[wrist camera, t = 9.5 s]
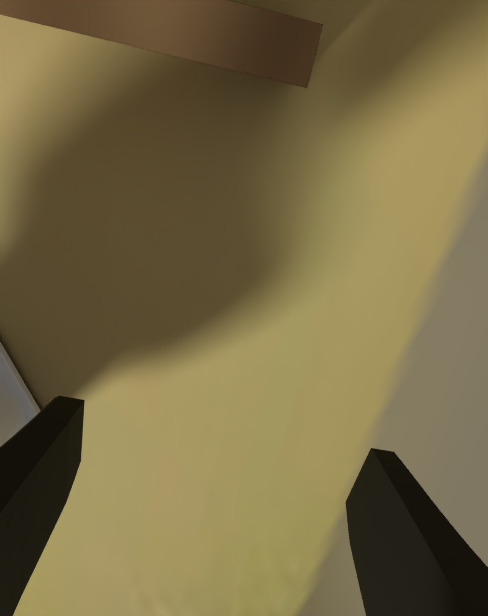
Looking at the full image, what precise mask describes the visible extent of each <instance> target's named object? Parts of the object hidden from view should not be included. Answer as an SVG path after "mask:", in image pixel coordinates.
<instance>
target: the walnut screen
mask: <svg viewBox="0 0 488 616" xmlns="http://www.w3.org/2000/svg"><path fill="white" fill-rule="evenodd" d="M0 14H1V15H5V16H9V17H13V18H17V19H21V20H26V21H30V22H34V23H38V24H42V25H46V26H51V27H55V28H59V29H63V30H67V31H71V32H76V33H80V34H84V35H88V36H92V37H96V38H101V39H105V40H109V41H113V42H117V43H121V44H126V45H130V46H134V47H138V48H142V49H146V50H151V51H155V52H159V53H163V54H167V55H171V56H176V57H180V58H184V59H188V60H192V61H196V62H201V63H205V64H209V65H213V66H217V67H221V68H226V69H230V70H234V71H238V72H242V73H246V74H251V75H255V76H259V77H263V78H267V79H271V80H276V81H280V82H284V83H288V84H292V85H296V86H301V87H305V88H307V86H308V82H309V78H310V74H311V71H312V67H313V63H314V59H315V55H316V51H317V47H318V43H319V39H320V35H321V31H322V27H323V24H319V23H315V22H311V21H308V20H304V19H300V18H296V17H292V16H288V15H284V14H280V13H276V12H272V11H268V10H264V9H260V8H256V7H252V6H248V5H245V4H241V3H237V2H233V1H229V0H0Z"/></svg>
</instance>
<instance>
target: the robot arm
mask: <svg viewBox="0 0 488 616" xmlns="http://www.w3.org/2000/svg"><path fill="white" fill-rule="evenodd" d="M83 415H84V400H81V399H75V398H69V397H63V396H58V397H56V398H54V399H53V400H52V401H51V402H50V403H49V404H48V405H47V406H46V407H45V408H43V409H42V410H41V411H40V409H39V407H38V406H37V404H36V402H35V400H34V399H33V397H32V395H31V394H30V392H29V390H28V388H27V387H26V385H25V383H24V382H23V380H22V378H21V376H20V375H19V373H18V371H17V369H16V368H15V366H14V364H13V363H12V361H11V359H10V357H9V356H8V354H7V352H6V351H5V349H4V347H3V345H2V344H1V342H0V616H13V614H14V611H15V609H16V607H17V605H18V602H19V600H20V598H21V596H22V594H23V591H24V589H25V587H26V585H27V583H28V581H29V579H30V577H31V575H32V573H33V571H34V569H35V567H36V564H37V562H38V560H39V558H40V556H41V554H42V552H43V550H44V548H45V546H46V544H47V542H48V539H49V537H50V535H51V533H52V531H53V529H54V527H55V525H56V523H57V521H58V519H59V516H60V514H61V512H62V510H63V508H64V506H65V504H66V502H67V499H68V496H69V493H70V490H71V488H72V485H73V482H74V479H75V476H76V473H77V470H78V468H79V465H80V462H81V449H82V432H83ZM346 510H347V522H348V531H349V539H350V545H351V551H352V555H353V560H354V564H355V569H356V573H357V578H358V582H359V586H360V591H361V595H362V599H363V604H364V608H365V612H366V616H488V567H487V566H486V565H485V564H484V563H483V561H482V560H481V559H480V558H479V557H478V556H477V555H476V554H475V553H474V551H473V550H472V549H471V548H470V547H469V545H468V544H467V543H466V542H465V541H464V539H462V537H461V536H460V535H459V534H458V532H457V531H456V530H455V529H454V527H453V526H452V525H451V524H450V523H449V521H448V520H447V519H446V518H445V516H444V515H443V514H442V513H441V512H440V510H439V509H438V508H437V506H436V505H435V504H434V503H433V501H432V500H431V499H430V497H429V496H428V495H427V493H426V492H425V491H424V490H423V488H422V487H421V486H420V484H419V483H418V482H417V481H416V479H415V478H414V477H413V475H412V474H411V473H410V472H409V470H408V469H407V468H406V466H405V465H404V464H403V462H402V461H401V460H400V459H399V458H398V457H397V455H396V454H395V453H394V452H391V451H385V450H379V449H373V448H371V449H370V451H369V454H368V456H367V458H366V460H365V462H364V464H363V466H362V468H361V471H360V473H359V475H358V477H357V479H356V481H355V483H354V485H353V488H352V490H351V492H350V494H349V496H348V498H347V500H346Z"/></svg>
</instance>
